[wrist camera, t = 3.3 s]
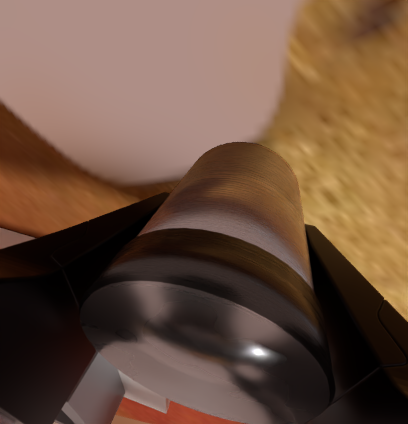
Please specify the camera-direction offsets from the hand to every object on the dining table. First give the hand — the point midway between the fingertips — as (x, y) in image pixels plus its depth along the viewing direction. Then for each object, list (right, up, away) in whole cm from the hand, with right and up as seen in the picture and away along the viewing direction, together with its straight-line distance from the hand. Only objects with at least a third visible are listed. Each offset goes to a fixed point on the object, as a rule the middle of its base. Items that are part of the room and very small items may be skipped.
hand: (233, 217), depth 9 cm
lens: (0, +1, +1) cm, 2 cm away
